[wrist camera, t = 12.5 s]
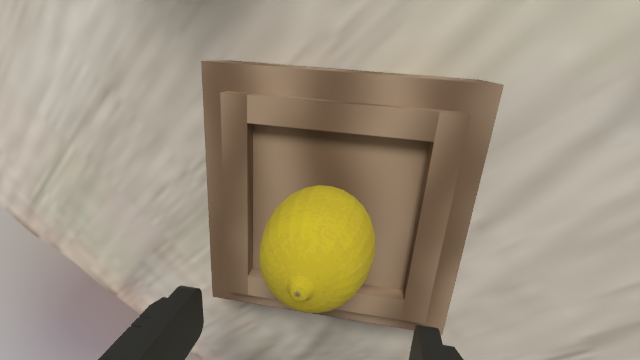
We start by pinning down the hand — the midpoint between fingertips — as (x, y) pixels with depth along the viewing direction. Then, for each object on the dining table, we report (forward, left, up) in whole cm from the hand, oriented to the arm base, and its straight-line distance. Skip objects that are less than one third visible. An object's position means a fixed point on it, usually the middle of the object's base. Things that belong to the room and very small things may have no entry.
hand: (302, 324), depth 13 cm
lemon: (0, -1, -9) cm, 9 cm away
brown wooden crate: (0, -1, -13) cm, 13 cm away
